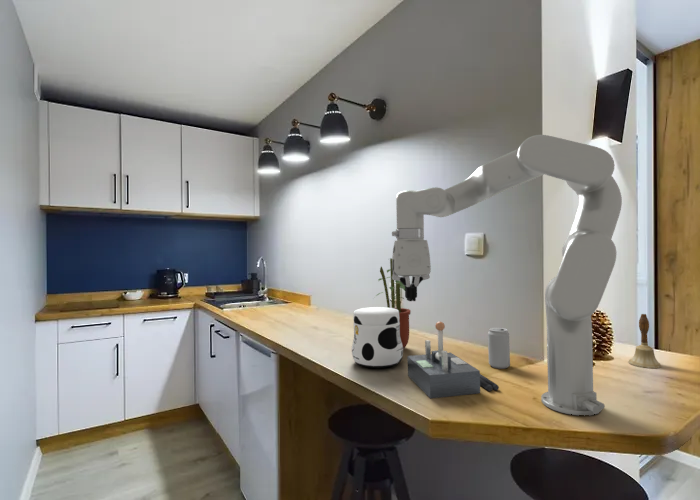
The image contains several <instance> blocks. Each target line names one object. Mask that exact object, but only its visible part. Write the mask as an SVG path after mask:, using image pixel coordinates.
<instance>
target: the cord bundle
mask: <svg viewBox="0 0 700 500" xmlns="http://www.w3.org/2000/svg"><path fill="white" fill-rule="evenodd" d="M480 387H482V388H484V389H485V390H486V391H488V392H491V391H493V390H494V391H498V390H499V385H498V384H497V383H495V382H494V381H492V380H491V379H489V378H488V377H485V376H484V375H483V374H481V373H480Z"/></svg>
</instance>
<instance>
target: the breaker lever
mask: <svg viewBox="0 0 700 500" xmlns="http://www.w3.org/2000/svg"><path fill="white" fill-rule="evenodd" d="M434 326H435V329H436V330H437V350H438V352H437V353H436V354H435V358H436V359H437V360H439V361H440V359H439V356H441V351H444V330H445V328H446V325H445V323H444V322H443V321H437V322H436V323H435V325H434Z"/></svg>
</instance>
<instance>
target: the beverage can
mask: <svg viewBox="0 0 700 500" xmlns="http://www.w3.org/2000/svg"><path fill="white" fill-rule="evenodd" d="M487 343H488V345H487V346H488V347H487V350H488V364H489V365H490V366H491V368H495V369H500V370H501V369H503V370H504V369H507V368H509V367H510V365H511V354H510V353H511V352H510V333H509V330H508V329H507V328H504V327H490V328H489V329H488V332H487Z"/></svg>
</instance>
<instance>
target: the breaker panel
mask: <svg viewBox="0 0 700 500" xmlns="http://www.w3.org/2000/svg"><path fill="white" fill-rule="evenodd" d="M424 343H425V344H424V348H425V349H424V351H425V352H424V353H425V354H415V355H407V376H408V377H409V378H410V379H411V381H413V382H414V383H415V385H417V387H418V388H419V389H421V391H422V392H424V394H425V395H426V396H427V397H428V398H429V399H437V398H446V397H447V398H449V397H455V396H456V397H457V396H458V397H459V396H466V395H467V396H469V395H478V394H481V385H480V374H481V373H480V372H481V371H480V370H479V369H477V368H476V367H475V366H473V365H472V364H469V363H468V362H466V361H465V360H464V359H462V358H460V357H459V356H456V355H455V354H454V353H452V352H448V351H447V350H443V351H441V356H439V359H440V361H439V360H437V359H436V358H435V354H436V353H437V352H438V349H436V350H431V348H432V347H431V346H432V345H431V340H428V339H426V340H424Z"/></svg>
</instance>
